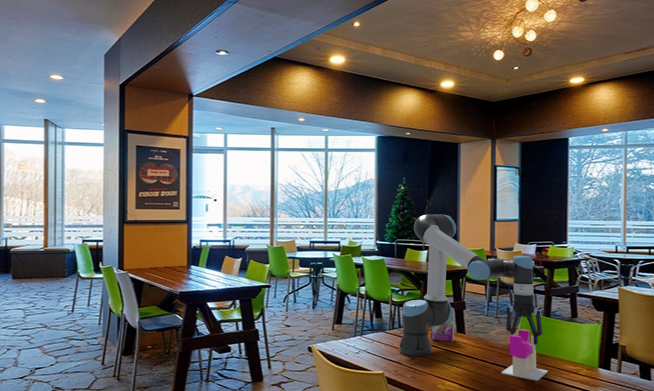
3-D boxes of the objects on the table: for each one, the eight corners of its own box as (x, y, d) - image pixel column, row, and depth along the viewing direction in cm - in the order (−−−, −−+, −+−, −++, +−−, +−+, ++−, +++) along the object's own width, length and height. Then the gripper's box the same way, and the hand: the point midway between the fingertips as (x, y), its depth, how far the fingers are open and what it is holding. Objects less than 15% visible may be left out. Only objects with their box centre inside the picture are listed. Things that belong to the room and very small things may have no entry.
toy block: (526, 357, 193) (526, 338, 193) (510, 355, 197) (509, 336, 197) (536, 349, 205) (535, 331, 205) (520, 347, 209) (520, 329, 209)
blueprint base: (501, 373, 201) (501, 354, 201) (513, 365, 212) (512, 347, 212) (537, 380, 192) (537, 360, 192) (547, 372, 203) (547, 353, 203)
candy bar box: (430, 340, 256) (430, 308, 256) (433, 337, 260) (432, 306, 261) (452, 342, 251) (452, 309, 252) (454, 340, 256) (454, 308, 256)
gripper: (496, 292, 206) (497, 348, 205) (545, 297, 194) (546, 356, 193) (503, 290, 212) (503, 345, 211) (551, 295, 200) (552, 352, 199)
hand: (524, 350), depth 202 cm, fingers closed on toy block, 6 cm apart
